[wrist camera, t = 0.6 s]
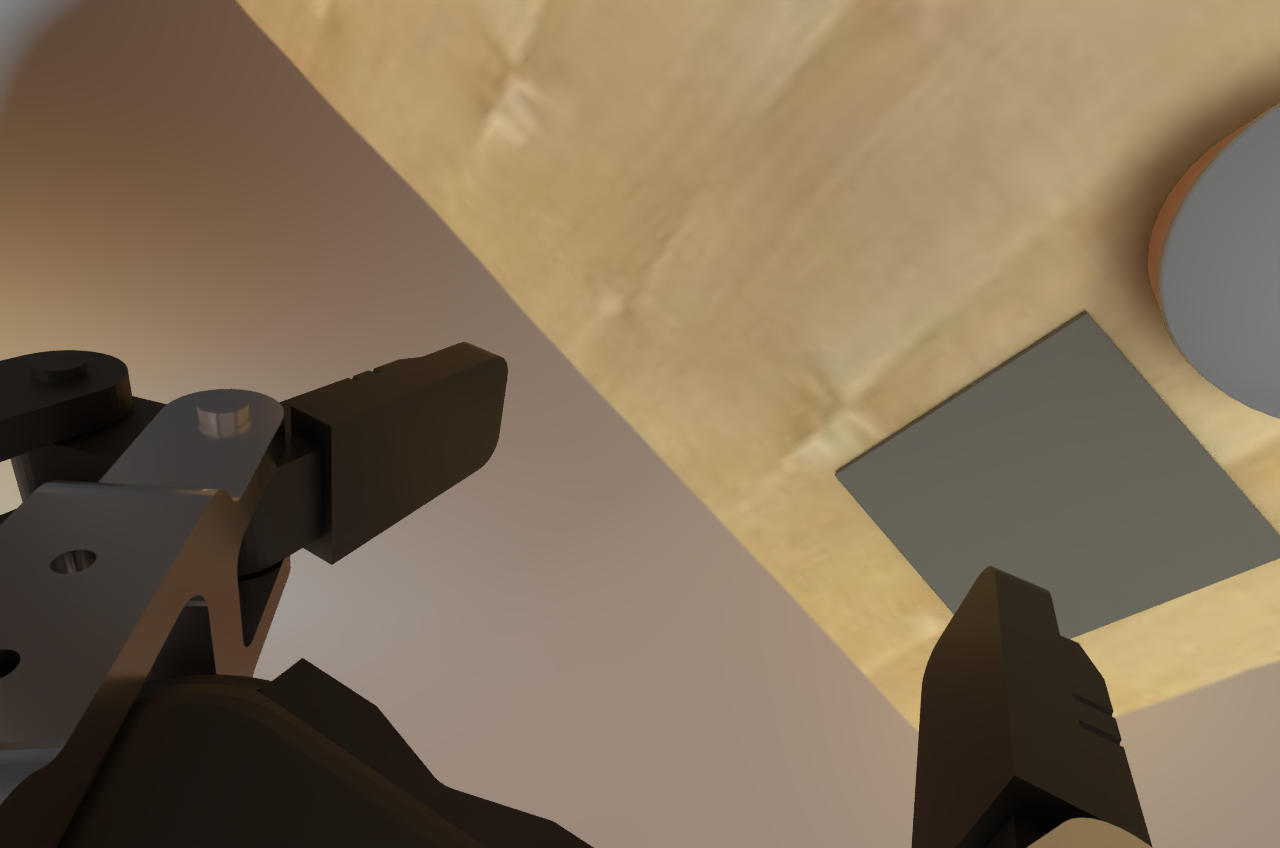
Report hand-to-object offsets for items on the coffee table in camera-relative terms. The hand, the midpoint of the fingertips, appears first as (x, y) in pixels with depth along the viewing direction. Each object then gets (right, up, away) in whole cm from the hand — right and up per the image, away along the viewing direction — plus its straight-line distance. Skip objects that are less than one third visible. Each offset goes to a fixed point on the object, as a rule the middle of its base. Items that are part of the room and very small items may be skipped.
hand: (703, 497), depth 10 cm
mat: (+19, -3, +22) cm, 30 cm away
